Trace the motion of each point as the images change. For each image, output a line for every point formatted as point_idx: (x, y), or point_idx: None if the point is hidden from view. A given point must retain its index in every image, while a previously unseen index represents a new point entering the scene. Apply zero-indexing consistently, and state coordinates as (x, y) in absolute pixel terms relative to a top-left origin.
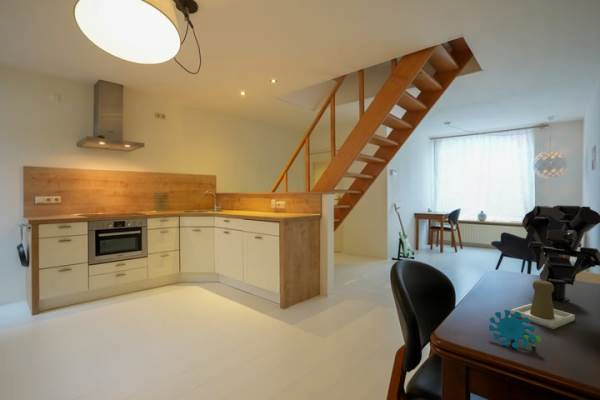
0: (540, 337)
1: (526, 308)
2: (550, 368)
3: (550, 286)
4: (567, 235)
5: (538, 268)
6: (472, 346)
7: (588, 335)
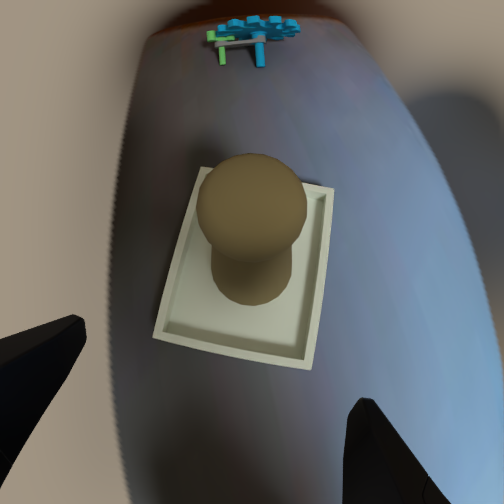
0: (207, 31)
1: (313, 287)
2: (191, 33)
3: (208, 173)
4: None
5: (358, 410)
6: None
7: (123, 215)
